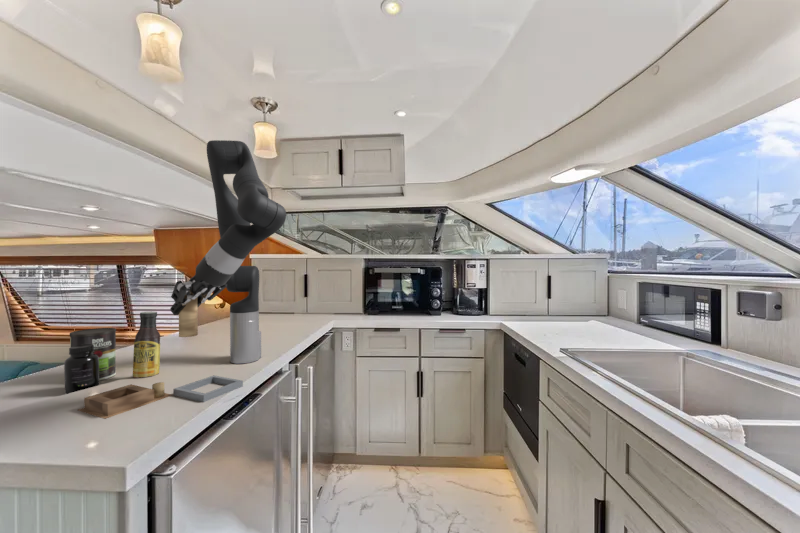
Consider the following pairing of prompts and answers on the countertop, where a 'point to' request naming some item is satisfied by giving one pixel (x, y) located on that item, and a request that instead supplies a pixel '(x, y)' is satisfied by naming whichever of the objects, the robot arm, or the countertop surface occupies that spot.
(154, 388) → the wooden slotted base
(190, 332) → the dowel
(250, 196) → the robot arm
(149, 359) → the sauce bottle
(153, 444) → the countertop surface
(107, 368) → the coffee can
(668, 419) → the countertop surface
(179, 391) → the tray
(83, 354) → the supplement bottle
